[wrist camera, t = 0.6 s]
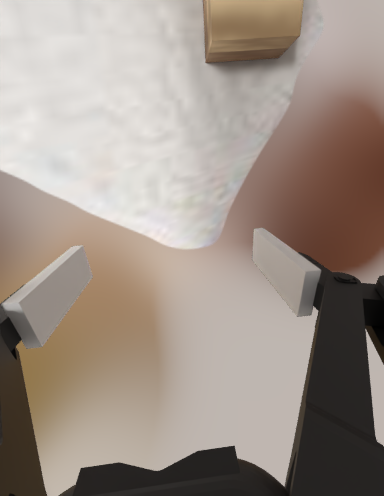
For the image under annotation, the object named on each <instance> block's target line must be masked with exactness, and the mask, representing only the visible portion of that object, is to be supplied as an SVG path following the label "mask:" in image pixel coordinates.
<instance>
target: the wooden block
mask: <svg viewBox="0 0 384 496" xmlns="http://www.w3.org/2000/svg"><path fill="white" fill-rule="evenodd" d="M203 9H204V34H205V58H206V63H210V62H225V61H240V60H256V59H271V58H279V57H280V56H281V55H282V54H283V53H284V52H285V51H286V50H287V49H288V48H289V46H290V45H291V44H292V43H293V42H294V41H295V40H296V39H297V38H298V37H299V36H300V30H301V20H302V10H303V0H203Z"/></svg>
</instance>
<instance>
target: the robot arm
mask: <svg viewBox="0 0 384 496" xmlns="http://www.w3.org/2000/svg"><path fill="white" fill-rule="evenodd" d="M252 261H253V262H254V263H255V264H256V266H257V267H258V268H259V269H260V271H261V272H262V273H263V274H264V276H265V277H266V278H267V279H268V281H269V282H270V283H271V284H272V286H273V287H274V288H275V289H276V291H277V292H278V293H279V294H280V296H281V297H282V298H283V299H284V301H285V302H286V303H287V305H288V306H289V307H290V308H291V309H292V311H293V312H294V313H295V314H296V316H297V317H299V316H308V315H311V314H312V310H313V306H314V307H315V308H316V309H317V310H318V311H319V312H318V316H317V320H316V325H315V332H314V338H313V342H312V348H311V353H310V359H309V364H308V369H307V375H306V380H305V385H304V391H303V396H302V402H301V406H300V412H299V417H298V422H297V427H296V433H295V438H294V443H293V449H292V454H291V458H290V463H289V468H288V472H287V477H286V482H285V487H284V486H283V485H282V484H281V483H279V482H278V481H277V480H276V479H275V478H274V477H273V476H272V475H270V474H269V473H267V472H266V471H265V470H263V469H262V468H260V467H258V466H256V465H255V464H252V463H250V462H247V461H245V460H241V459H237V456H236V451H235V446H229V447H222V448H215V449H209V450H202V451H197V452H195V453H193V454H191V455H190V456H187V457H186V458H184V459H182V460H180V461H178V462H176V463H174V464H172V465H170V466H168V467H167V468H165V469H163V470H160V471H153V470H149V469H144V468H140V467H136V466H131V465H127V464H123V463H113V464H106V465H99V466H93V467H85V468H81V470H80V473H79V476H78V479H77V482H76V485H74V486H72V487H71V488H69V489H68V490H66V491H64V492H63V493H62V494H60V495H59V496H384V446H383V445H381V444H380V443H378V442H377V440H376V437H375V430H374V418H373V407H372V397H371V386H370V375H369V364H368V353H367V342H366V331H365V328H366V330H367V332H368V334H369V336H370V338H371V340H372V342H373V344H374V346H375V348H376V350H377V352H378V354H379V356H380V358H381V360H382V362H383V364H384V276H380V277H379V278H378V280H377V283H376V284H367V283H361V282H360V280H358V279H357V278H356V277H354V276H352V275H349V274H345V273H340V272H331V271H330V270H328V269H327V268H325V267H324V266H323V265H321V264H319V263H318V262H317V261H315V260H313V259H312V258H311V257H309V256H308V255H305V254H303V253H300V252H298V253H297V252H296V251H294V250H293V249H292V248H290V247H289V246H288V245H286V244H285V243H283V242H282V241H281V240H279V239H278V238H276V237H275V236H274V235H272V234H271V233H270V232H268V231H267V230H265V229H264V228H258V229H254V235H253V253H252ZM92 277H93V275H92V272H91V269H90V266H89V263H88V260H87V257H86V253H85V250H84V247H83V245H81V246H72V247H71V248H70V249H69V250H67V251H66V252H65V253H64V254H62V255H61V256H60V257H59V258H57V259H56V260H55V261H54V262H53V263H51V264H50V265H49V266H48V267H46V268H45V269H44V270H43V271H41V272H40V273H39V274H38V275H37V276H35V277H34V278H33V279H32V280H30V281H29V282H28V283H27V284H25V285H23V286H22V287H20V289H18V290H17V291H16V292H14V293H13V294H12V295H10V297H8V298H7V299H6V300H4V301H3V302H2V303H1V304H0V496H47V494H46V491H45V487H44V482H43V477H42V471H41V466H40V461H39V456H38V451H37V445H36V440H35V435H34V429H33V424H32V419H31V414H30V408H29V404H28V398H27V393H26V388H25V382H24V377H23V372H22V366H21V361H20V356H19V352H18V350H17V348H16V345H17V344H18V343H19V342H20V341H21V340H22V342H23V344H24V345H25V347H26V348H27V349H28V348H37V347H42V346H43V345H44V344H45V342H46V341H47V340H48V338H49V337H50V335H51V334H52V333H53V331H54V330H55V329H56V327H57V326H58V324H59V323H60V322H61V320H62V319H63V317H64V316H65V315H66V313H67V312H68V310H69V309H70V308H71V306H72V305H73V304H74V302H75V301H76V299H77V298H78V297H79V295H80V294H81V292H82V291H83V290H84V288H85V287H86V286H87V284H88V283H89V281H90V280H91V279H92Z"/></svg>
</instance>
